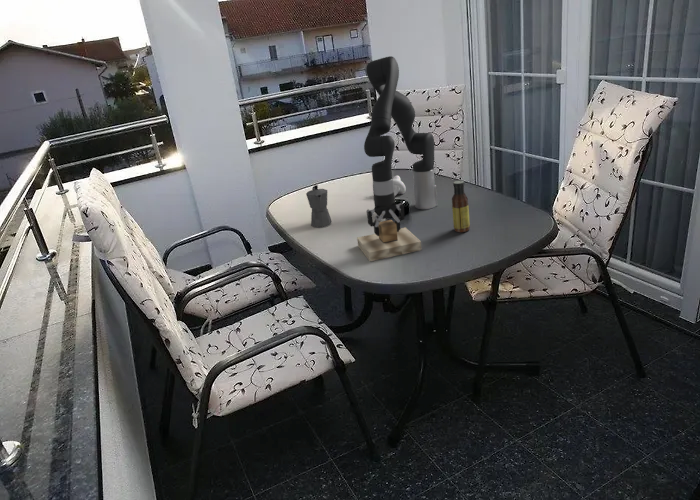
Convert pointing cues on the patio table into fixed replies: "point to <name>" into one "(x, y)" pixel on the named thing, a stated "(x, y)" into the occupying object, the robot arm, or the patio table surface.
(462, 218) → the sauce bottle
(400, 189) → the white knot
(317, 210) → the coffeepot
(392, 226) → the oak peg
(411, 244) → the birch board
